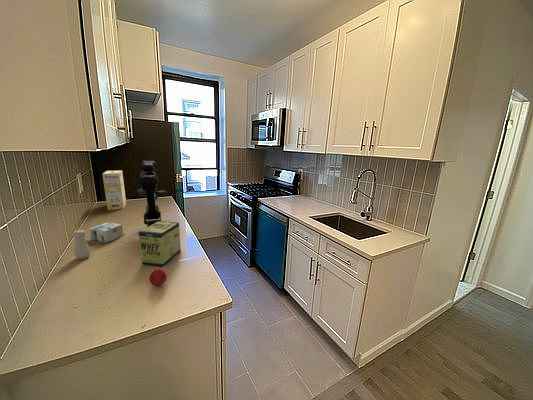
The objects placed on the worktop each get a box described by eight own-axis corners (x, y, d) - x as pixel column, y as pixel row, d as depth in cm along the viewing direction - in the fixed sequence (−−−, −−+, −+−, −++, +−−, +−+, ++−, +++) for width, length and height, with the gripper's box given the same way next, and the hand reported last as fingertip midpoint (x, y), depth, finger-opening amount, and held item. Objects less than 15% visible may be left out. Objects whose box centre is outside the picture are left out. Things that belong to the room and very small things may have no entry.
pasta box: (123, 208, 176) (119, 173, 170) (107, 210, 172) (102, 173, 165) (126, 203, 192) (122, 170, 185) (111, 204, 188) (107, 170, 181)
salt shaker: (73, 261, 99) (68, 234, 96) (77, 255, 104) (72, 229, 101) (90, 258, 102) (85, 232, 99) (92, 253, 107) (88, 227, 103)
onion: (149, 292, 81) (147, 273, 79) (150, 283, 86) (148, 264, 84) (167, 289, 83) (165, 269, 81) (167, 280, 88) (165, 262, 86)
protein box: (141, 265, 98) (137, 232, 95) (162, 249, 113) (159, 220, 110) (163, 267, 97) (160, 234, 93) (181, 251, 112) (179, 221, 108)
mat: (125, 234, 129) (125, 233, 129) (102, 244, 116) (102, 243, 116) (108, 231, 132) (108, 231, 132) (84, 241, 119) (84, 240, 119)
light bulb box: (105, 231, 116) (88, 228, 118) (106, 242, 117) (90, 240, 120) (122, 224, 126) (106, 221, 128) (123, 235, 127) (107, 232, 130)
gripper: (127, 182, 132) (130, 207, 135) (154, 184, 128) (156, 211, 131) (141, 179, 142) (143, 203, 146) (167, 181, 138) (169, 206, 142)
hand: (152, 206), depth 141 cm, fingers closed
